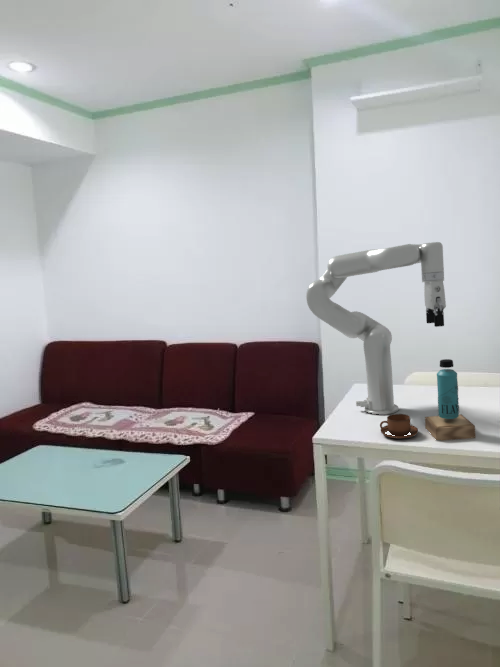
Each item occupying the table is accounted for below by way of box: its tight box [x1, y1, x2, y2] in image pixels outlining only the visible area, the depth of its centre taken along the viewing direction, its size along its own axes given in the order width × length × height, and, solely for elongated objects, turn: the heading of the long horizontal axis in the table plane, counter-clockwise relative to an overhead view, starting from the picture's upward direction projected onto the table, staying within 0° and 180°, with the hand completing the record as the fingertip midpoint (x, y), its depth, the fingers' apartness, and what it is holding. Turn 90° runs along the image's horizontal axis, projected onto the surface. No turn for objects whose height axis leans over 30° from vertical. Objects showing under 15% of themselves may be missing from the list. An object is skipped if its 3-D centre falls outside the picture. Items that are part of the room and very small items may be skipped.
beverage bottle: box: [436, 358, 460, 419], centre depth 165 cm, size 6×7×20 cm
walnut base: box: [424, 413, 476, 441], centre depth 166 cm, size 12×12×4 cm
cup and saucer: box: [379, 413, 419, 440], centre depth 169 cm, size 12×12×6 cm
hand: (435, 324), depth 186 cm, fingers open, 9 cm apart
